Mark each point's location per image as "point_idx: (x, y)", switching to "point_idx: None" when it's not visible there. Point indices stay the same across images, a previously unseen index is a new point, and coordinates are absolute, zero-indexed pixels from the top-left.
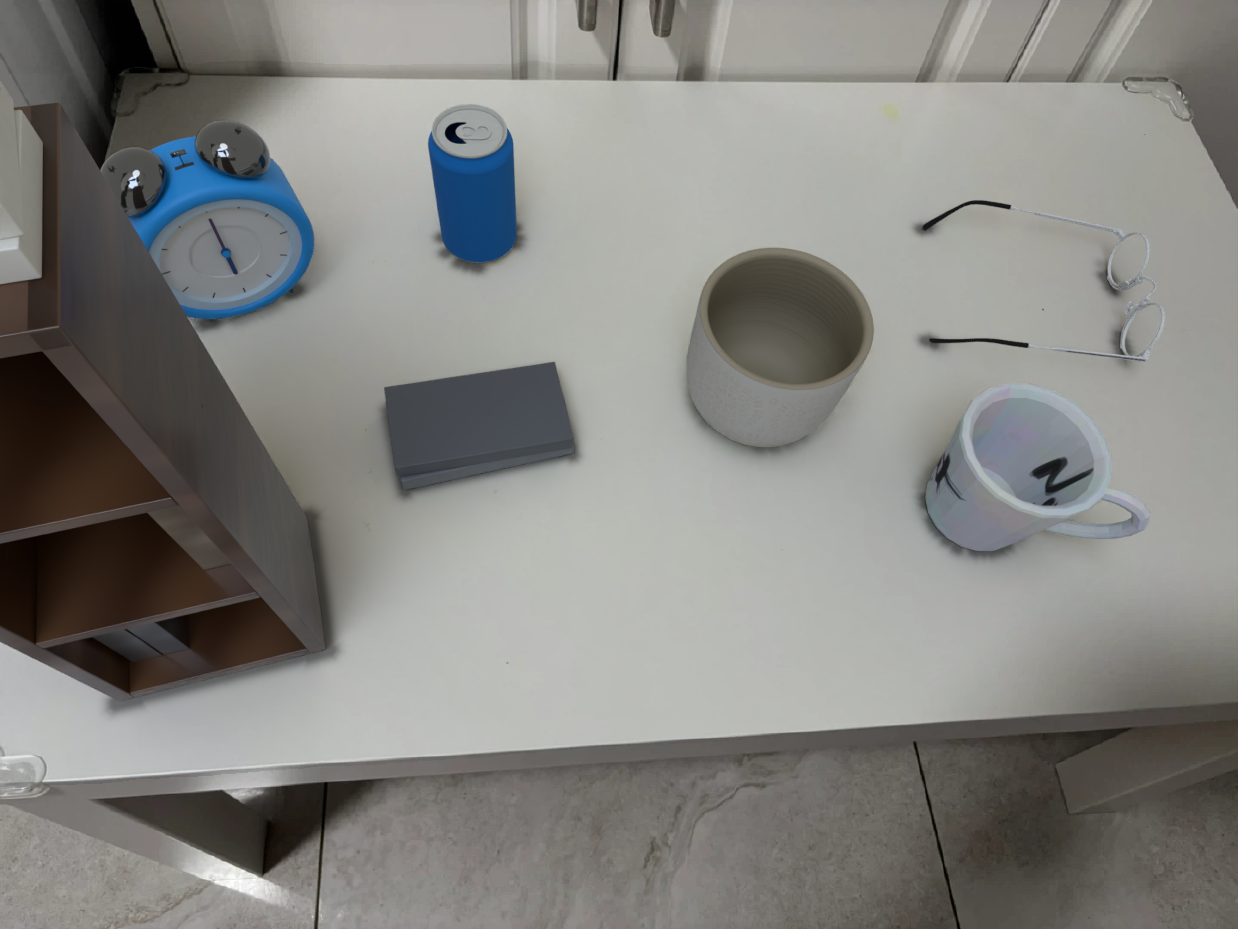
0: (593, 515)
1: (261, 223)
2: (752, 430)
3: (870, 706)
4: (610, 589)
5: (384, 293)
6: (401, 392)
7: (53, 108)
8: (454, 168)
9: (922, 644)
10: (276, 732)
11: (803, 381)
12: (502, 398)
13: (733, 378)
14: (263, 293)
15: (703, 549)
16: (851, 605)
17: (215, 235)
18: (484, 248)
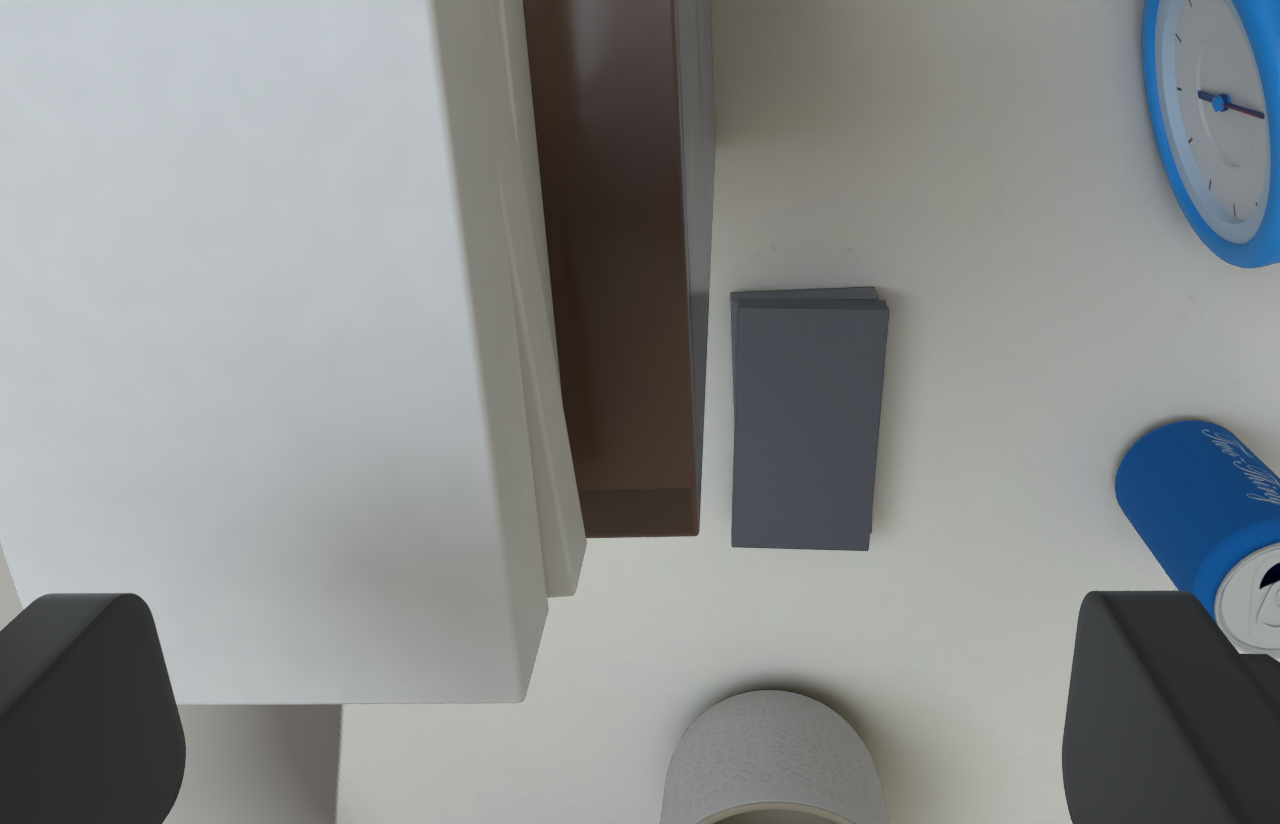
0: None
1: (1249, 188)
2: (676, 763)
3: (355, 737)
4: None
5: (1114, 307)
6: (871, 333)
7: (674, 528)
8: (1216, 552)
9: (415, 806)
10: None
11: (773, 812)
12: (822, 471)
13: (703, 804)
14: (1165, 118)
15: (566, 634)
16: (470, 758)
17: (1246, 103)
18: (1126, 493)
